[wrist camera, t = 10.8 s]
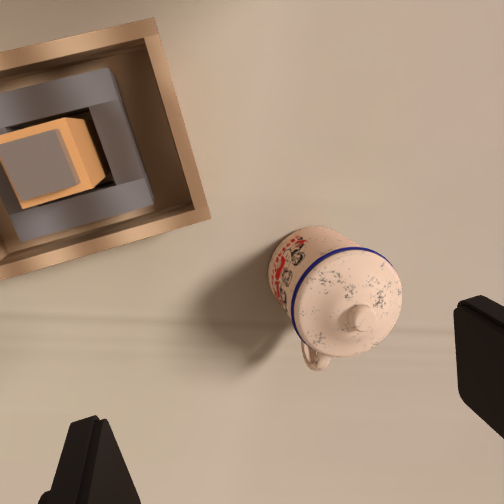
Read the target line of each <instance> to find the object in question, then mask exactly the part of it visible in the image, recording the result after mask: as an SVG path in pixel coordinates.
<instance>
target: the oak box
mask: <svg viewBox="0 0 504 504" xmlns="http://www.w3.org/2000/svg"><path fill="white" fill-rule="evenodd" d="M64 117H66V118H75V119H85V120H92V121H93V124H94V127H95V129H96V132H97V135H98V137H99V140H100V143H101V145H102V148H103V150H104V153H105V156H106V158H107V161H108V164H109V166H110V169H111V172H110V173H109V174H108V175H107V176H106V177H105V178H103V179H102V180H101V181H100V182H99V183H98V184H97V185H96V186H95V187H94V188H92V189H89V190H85V191H82V192H78V193H75V194H72V195H68V196H65V197H62V198H58V199H55V200H52V201H48V202H45V203H42V204H38V205H35V206H31V207H28V208H25V209H22V207H21V205H20V203H19V200H18V198H17V196H16V194H15V192H14V190H13V187H12V185H11V183H10V181H9V179H8V177H7V175H6V172H5V170H4V168H3V166H2V164H1V162H0V280H3V279H7V278H10V277H14V276H17V275H20V274H24V273H27V272H31V271H34V270H38V269H41V268H44V267H48V266H51V265H55V264H58V263H62V262H65V261H68V260H72V259H75V258H79V257H82V256H85V255H89V254H92V253H96V252H99V251H103V250H106V249H109V248H113V247H116V246H120V245H123V244H127V243H130V242H133V241H137V240H140V239H144V238H147V237H150V236H154V235H157V234H161V233H164V232H168V231H171V230H174V229H178V228H181V227H185V226H188V225H192V224H195V223H198V222H202V221H205V220H209V219H211V215H210V212H209V208H208V205H207V201H206V198H205V194H204V191H203V187H202V184H201V180H200V177H199V173H198V170H197V166H196V163H195V159H194V156H193V152H192V149H191V145H190V142H189V138H188V135H187V131H186V128H185V124H184V121H183V117H182V114H181V110H180V107H179V103H178V100H177V96H176V93H175V89H174V86H173V82H172V79H171V75H170V72H169V69H168V65H167V62H166V58H165V55H164V51H163V48H162V44H161V41H160V37H159V34H158V30H157V27H156V23H155V20H154V18H150V19H145V20H141V21H137V22H132V23H128V24H123V25H119V26H114V27H110V28H106V29H101V30H97V31H92V32H88V33H84V34H79V35H75V36H70V37H66V38H62V39H57V40H53V41H48V42H44V43H40V44H35V45H31V46H26V47H22V48H18V49H13V50H9V51H4V52H0V135H2V134H6V133H10V132H13V131H17V130H21V129H24V128H28V127H31V126H35V125H39V124H42V123H46V122H50V121H53V120H57V119H60V118H64Z"/></svg>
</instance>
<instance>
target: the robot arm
mask: <svg viewBox="0 0 504 504" xmlns="http://www.w3.org/2000/svg"><path fill="white" fill-rule="evenodd" d="M453 315H454V330H455V346H456V362H457V378H458V390H459V394H460V396H461V398H462V400H463V401H464V403H465V404H466V405H467V406H468V407H470V408H471V409H472V410H473V411H474V412H475V413H476V414H477V415H478V416H479V417H480V418H482V419H483V420H484V421H485V422H486V423H487V424H488V425H489V426H490V427H491V428H492V429H494V430H495V431H496V432H497V433H498V434H499V435H500V436H501V437H502V438H503V439H504V306H502V305H500V304H498V303H496V302H494V301H492V300H490V299H489V298H487V297H485V296H482V295H479V296H475V297H472V298H469V299H466V300H462V301H460V302H459V303H458V305H457V308H456V309H455V310H454V314H453ZM38 504H141V502H140V499H139V496H138V494H137V491H136V489H135V486H134V484H133V481H132V479H131V476H130V474H129V471H128V469H127V466H126V464H125V462H124V459H123V457H122V454H121V452H120V449H119V447H118V444H117V442H116V439H115V437H114V434H113V432H112V430H111V427H110V425H109V422H108V421H107V419H102V420H100V419H99V418H98V417H97V416H96V415H94V416H91V417H88V418H85V419H82V420H78V421H75V422H72V423H71V425H70V427H69V430H68V433H67V437H66V440H65V443H64V447H63V450H62V453H61V457H60V460H59V464H58V467H57V470H56V474H55V477H54V480H53V484H52V487H51V490H50V491H47V492H45V493H44V494H43V495H42V496H41V498H40V500H39V502H38Z"/></svg>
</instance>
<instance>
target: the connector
mask: <svg viewBox="0 0 504 504" xmlns="http://www.w3.org/2000/svg"><path fill="white" fill-rule="evenodd" d="M0 162H1V164H2V166H3V168H4V170H5V172H6V175H7V177H8V179H9V181H10V183H11V185H12V187H13V190H14V192H15V194H16V196H17V198H18V200H19V203H20V205H21V207H22V209H25V208H28V207H31V206H35V205H38V204H42V203H45V202H48V201H52V200H55V199H58V198H62V197H65V196H68V195H72V194H75V193H78V192H82V191H85V190H89V189H92V188H94V187H95V186H96V185H97V184H98V183H99V182H100V181H101V180H102V179H103V178H105V177H106V176H107V175H108V174H109V173H110V172H111V169H110V166H109V164H108V161H107V158H106V156H105V153H104V150H103V148H102V145H101V143H100V140H99V137H98V135H97V132H96V129H95V127H94V124H93V121H92V120H85V119H75V118H66V117H64V118H60V119H57V120H53V121H50V122H46V123H42V124H39V125H35V126H31V127H28V128H24V129H21V130H17V131H13V132H10V133H6V134H2V135H0Z"/></svg>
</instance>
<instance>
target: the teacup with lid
mask: <svg viewBox="0 0 504 504" xmlns="http://www.w3.org/2000/svg"><path fill="white" fill-rule="evenodd" d="M268 278H269V284H270V287H271V290H272V292H273V294H274V296H275V297H276V299H277V300H278V302H279V303H280V304H281V306H282V307H283V309H284V310H285V312H286V313H287V315H288V316H289V317H290V319H291V320H292V323H293V326H294V329H295V331H296V333H297V334H298V336H299V337H300V339H301V347H302V353H303V357H304V360H305V362H306V364H307V366H308V367H309V368H310V369H311V370H315V371H321V370H323V369H325V368H326V367H327V365H328V364H329V362H330V359H331V356H332V357H349V356H354V355H358V354H361V353H363V352H365V351H368V350H369V349H371V348H373V347H374V346H376V345H377V344H378V343H380V342H381V341H382V340H383V339H384V338H385V337H386V336H387V335H388V333H389V332H390V331H391V329H392V328H393V326H394V324H395V323H396V321H397V318H398V316H399V313H400V309H401V304H402V288H401V283H400V280H399V277H398V275H397V273H396V271H395V269H394V268H393V266H392V265H391V263H390V262H389V261H388V260H387V259H386V258H385V257H383V256H382V255H381V254H379V253H377V252H375V251H373V250H370V249H367V248H362V247H361V246H359V245H357V244H356V243H354V242H352V241H350V240H349V239H347V238H345V237H344V236H342V235H340V234H339V233H337V232H335V231H333V230H331V229H328V228H324V227H307V228H303V229H300V230H298V231H296V232H294V233H292V234H290V235H289V236H288V237H286V238H285V239H284V240H283V241H282V242H281V243H280V244H279V245H278V247H277V248H276V250H275V251H274V253H273V255H272V258H271V260H270V264H269V270H268ZM316 352H317V355H316Z"/></svg>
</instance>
